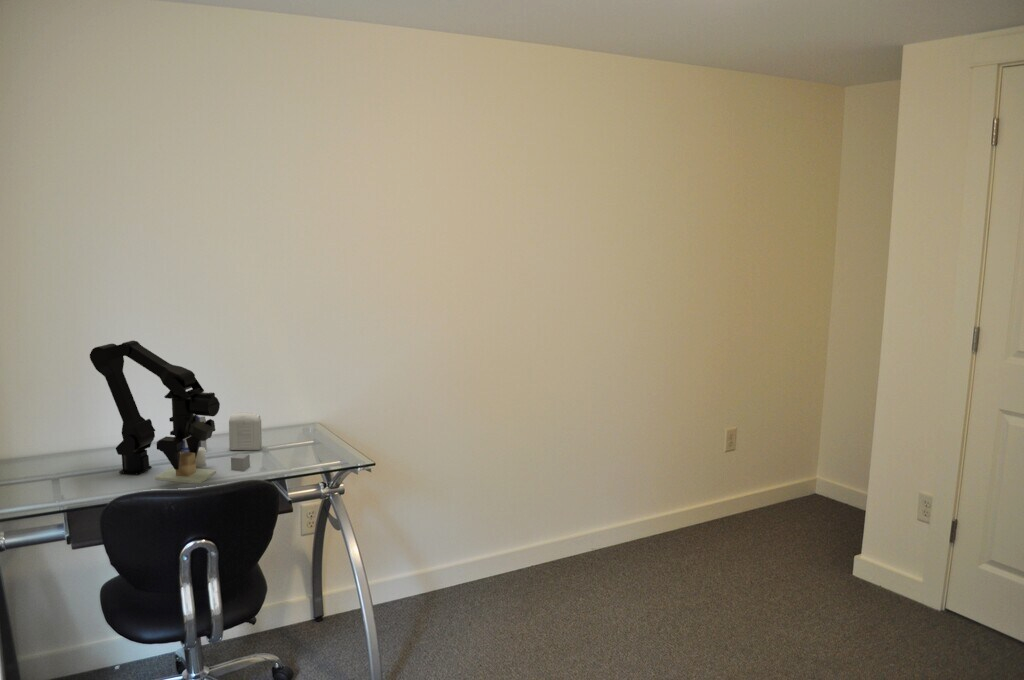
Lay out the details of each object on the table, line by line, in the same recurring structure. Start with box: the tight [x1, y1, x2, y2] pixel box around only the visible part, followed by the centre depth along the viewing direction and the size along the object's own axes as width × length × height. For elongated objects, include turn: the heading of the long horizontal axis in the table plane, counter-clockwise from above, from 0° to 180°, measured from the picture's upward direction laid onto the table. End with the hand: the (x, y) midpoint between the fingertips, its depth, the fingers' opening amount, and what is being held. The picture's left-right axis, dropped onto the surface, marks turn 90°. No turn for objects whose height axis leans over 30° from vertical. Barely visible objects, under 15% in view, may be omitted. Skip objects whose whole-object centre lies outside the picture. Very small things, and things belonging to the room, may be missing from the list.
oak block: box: [176, 452, 197, 477], centre depth 223 cm, size 4×4×6 cm
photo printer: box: [228, 412, 263, 451], centre depth 248 cm, size 10×4×12 cm, turn 98°
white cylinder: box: [196, 447, 207, 468], centre depth 233 cm, size 4×4×5 cm
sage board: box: [154, 466, 217, 484], centre depth 223 cm, size 14×9×1 cm, turn 82°
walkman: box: [180, 415, 208, 453], centre depth 244 cm, size 8×3×12 cm, turn 125°
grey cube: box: [230, 453, 251, 472], centre depth 231 cm, size 4×4×4 cm
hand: (185, 464), depth 223 cm, fingers open, 9 cm apart
